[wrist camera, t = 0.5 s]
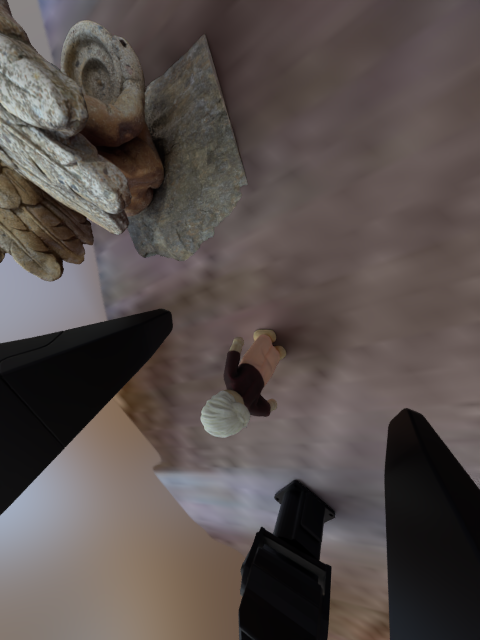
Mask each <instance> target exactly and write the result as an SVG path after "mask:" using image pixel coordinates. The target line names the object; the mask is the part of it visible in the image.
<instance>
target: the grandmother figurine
mask: <svg viewBox="0 0 480 640" xmlns="http://www.w3.org/2000/svg"><path fill="white" fill-rule="evenodd" d="M275 340H276V335H275V333H274V332H273V331H272V330H257V331H255V333H254V341H255V342H254V343H253V345H252V346H251V347H250V349H249V350H248V351H247V352H246V354H245V355H244V356H243V358H242V361H241V362H240V364H239V361H240V354H241V351H242V346H243V345H244V340H243V339H242V338H241V337H236V338H235V339H234V340H233V345H232V346H231V348H230V351H229V352H228V354H227V359H226V365H225V371H224V381H225V384H226V387H227V390H223V391H221V392H219V393H218V394H217V395H215V396H213V397H212V399H210V400H208V401H207V404H206V405H205V406H204V407H203V409H202V411H201V412H202V416H201V422H202V423H203V425H204V428H205V430H206V431H207V432H209V433H210V434H211V435H213V436H216V437H223V438H224V437H228V436H230V435H233V434H236V433H238V432H239V431H241V429H242V428H243V427H247V423H248V422H249V420H250V415H253V416H264V417H267V416H269V415H270V412H271V411H273V410H275V409H276V408H277V402H276V401H275V400H274V399H269V400H268V401H267V400H265V399H264V398H263V397H262V396H261V395H260V393H261V391H262V389H263V388H264V386H265V385H266V384H267V382H268V381H269V379H270V378H271V376H272V375H273V373H274V371H275V369H276V366H277V364H278V362H279V361H280V360H281V359H282V358H284V357H285V356H286V351H285V349H284V348H283V347H282V346H273V345H272V343H273V342H275ZM238 365H239V366H238Z"/></svg>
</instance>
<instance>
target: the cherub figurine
mask: <svg viewBox="0 0 480 640" xmlns="http://www.w3.org/2000/svg"><path fill="white" fill-rule="evenodd" d="M243 185H247V179H246V176H245V172H244V169H243V165H242V161H241V158H240V154H239V151H238V147H237V144H236V140H235V137H234V133H233V130H232V126H231V123H230V119H229V116H228V112H227V109H226V105H225V102H224V98H223V95H222V91H221V88H220V84H219V81H218V77H217V74H216V70H215V67H214V63H213V60H212V56H211V53H210V49H209V46H208V42H207V39H206V35H203V36H201V37H200V38H199V40H198V41H197V42H196V43H195V44H194V45H193V46H192V47H191V48H190V50H189V51H188V52H187V53H186V54H185V55H184V56H181V58H180V59H179V60H178V61H177V62H175V64H174V65H172V66H171V67H170V68H169V69H168V70H167V71H166V72H165V73H164V74H163V76H161V77H158V78H157V79H156V80H154V81H153V82H151V83H150V85H148V86H147V90H146V92H145V81H144V75H143V70H142V68H141V64H140V62H139V59H138V58H137V55H136V54H135V53H134V51H133V49H132V48H131V46H130V45H129V44H128V42H127V41H126V40H125V39H124V38H122V37H118V36H116V35H114V36H112V35H111V34H110V33H109V32H108V31H107V30H106V29H105V28H104V27H103V26H101V25H99V24H98V23H95V22H92V21H89V20H85V21H81V22H78V23H77V24H75V25H74V26H73V27H72V28H71V30H70V31H69V33H68V35H67V37H66V40H65V42H64V45H63V50H62V54H61V71H60V69H59V68H58V67H56V66H55V65H53V64H51V63H50V62H48V61H46V60H45V59H44V58H43V57H42V56H41V55H40V54H38V52H37V51H36V49H34V47H33V46H32V45H31V43H30V41H29V39H28V37H27V34H26V33H25V31H24V30H23V28H22V27H21V26H20V25H19V24H18V23H17V22H16V21H15V20H14V19H13V17H12V14H11V11H10V8H9V5H8V2H7V0H0V263H1V262H2V260H3V259H4V257H5V253H9V254H10V255H12V256H13V258H14V260H15V261H16V262H17V263H18V264H19V265H20V266H22V267H23V268H24V269H25V270H27V271H28V272H30V273H32V274H34V275H36V276H37V277H39V278H41V279H43V280H45V281H55V280H57V279H59V278H60V277H61V276H62V274H63V270H64V268H63V260H64V261H66V262H69V263H74V264H81V263H82V262H83V261H84V255H85V250H84V247H83V244H88V245H93V242H94V240H93V238H94V237H93V234H92V230H91V223H90V222H89V221H88V220H87V219H86V218H89V219H90V220H91V221H93V222H95V223H96V224H98V225H100V226H102V227H103V228H105V229H107V230H108V231H109V232H110V233H112V234H113V233H114V234H117V235H119V234H121V233H123V232H124V231H125V229H126V228H128V231H129V234H130V236H131V238H132V241H133V243H134V246H135V248H136V250H137V251H138V253H139V254H140V255H141V256H142V257H144V258H146V257H149V256H154V255H156V254H159V255H160V256H164V257H167V258H174V259H176V260H178V261H185V260H186V259H188V258H189V257H190V256H192V255H193V254H194V253H195V252H196V251H197V250H198V249H199V248H200V244H201V243H202V242H203V240H207V239H208V238H210V237H213V235H214V226H218V225H219V222H222V221H223V219H224V218H225V217H227V216H229V214H230V213H231V212H232V210H233V208H234V207H235V206H236V204H237V201H239V199H240V198H241V195H242V194H241V193H240V190H239V187H241V186H243Z"/></svg>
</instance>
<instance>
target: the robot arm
mask: <svg viewBox="0 0 480 640" xmlns="http://www.w3.org/2000/svg"><path fill="white" fill-rule="evenodd" d="M172 328H173V323H172V314H171V312H170V311H168V310H165V309H157V310H153V311H148V312H144V313H140V314H135V315H131V316H126V317H122V318H117V319H113V320H109V321H104V322H100V323H96V324H91V325H87V326H82V327H78V328H73V329H69V330H65V331H60V332H56V333H51V334H47V335H43V336H37V337H32V338H28V339H22V340H17V341H11V342H6V343H0V515H1V514H2V513H3V512H4V511H5V510H6V509H7V508H8V507H9V506H10V505H11V504H12V503H13V502H14V501H15V500H16V499H17V498H18V497H19V496H20V495H21V493H22V492H23V491H24V490H25V489H26V488H27V487H28V486H29V485H30V484H31V483H32V482H33V481H34V480H35V479H36V478H37V476H39V475H40V474H41V472H42V471H43V470H44V469H45V468H46V467H47V466H48V465H49V464H50V463H51V462H52V461H53V460H54V459H55V458H56V457H57V455H59V454H60V453H61V451H62V450H63V449H64V448H65V447H66V446H67V445H68V444H69V443H70V442H71V441H72V440H73V439H74V438H75V437H76V435H77V434H78V433H79V432H80V431H81V430H82V429H83V428H84V427H85V426H86V425H87V424H88V423H89V422H90V421H91V420H92V419H93V418H94V417H95V416H96V415H97V414H98V413H99V411H100V410H101V409H102V408H103V407H104V406H105V405H106V404H107V403H108V402H109V401H110V400H111V399H112V398H113V397H114V396H115V395H116V394H117V393H118V392H119V391H120V389H121V388H122V387H123V386H124V385H125V384H126V383H127V382H128V381H129V380H130V379H131V378H132V377H133V376H134V375H135V374H136V373H137V372H138V371H139V370H140V369H141V367H142V366H143V365H144V364H145V363H146V362H147V361H148V360H149V359H150V358H151V357H152V355H153V354H154V353H155V352H156V350H157V349H158V348H159V347H160V345H161V344H162V343H163V341H164V340H165V339H166V338H167V336H168V335H169V334H170V332H171V331H172ZM384 476H385V510H386V538H387V566H388V594H389V623H390V640H480V489H479V488H478V487H477V485H476V484H475V483H474V481H473V480H472V479H471V478H470V476H469V475H468V474H467V472H466V471H465V470H464V468H463V467H462V466H461V464H460V463H459V462H458V460H457V459H456V458H455V457H454V455H453V454H452V453H451V451H450V450H449V449H448V447H447V446H446V445H445V443H444V442H443V441H442V440H441V438H440V437H439V436H438V434H437V433H436V432H435V430H434V429H433V428H432V426H431V425H430V424H429V422H428V421H427V420H426V419H425V417H424V416H423V415H422V414H420V413H418V412H416V411H413V410H411V409H408V408H405V409H403V410H402V411H401V412H400V413H399V414H398V415H396V416H395V417H394V418H393V419H392V420H391V422H390V424H389V427H388V437H387V449H386V460H385V474H384ZM274 498H275V500H276V501H278V502H279V503H280V504H281V506H280V510H279V514H278V518H277V521H276V525H275V529H274V532H273V534H272V533H270V532H268V531H267V530H265V528H263V527H261V528H260V531H259V532H257V533H256V536H255V539H254V542H253V545H252V547H251V549H250V551H249V553H248V555H247V557H246V559H245V561H244V562H243V564H242V567H241V575H242V582H241V583H242V584H241V590H240V594H241V596H243V597H242V600H241V604H240V608H239V640H327V637H328V625H329V608H330V587H331V566H330V565H328V564H324V563H322V562H321V561H319V560H320V550H321V542H322V536H323V526H324V523H325V522H327V521H329V520H331V519H333V518H335V512H334V511H333V510H332V509H331V508H330V507H328V506H327V505H326V504H325V503H324V502H322V501H321V500H320V499H319V498H318V497H316V496H315V495H314V494H313V493H311V492H310V491H309V490H308V489H307V488H305V487H304V486H303V485H302V484H301V483H299V482H298V481H296V480H294V481H292V482H291V483H290V484H288V485H287V486H286V487H284V488H283V489H282V490H280V491H279V492H278V493H276V494H275V497H274Z"/></svg>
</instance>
